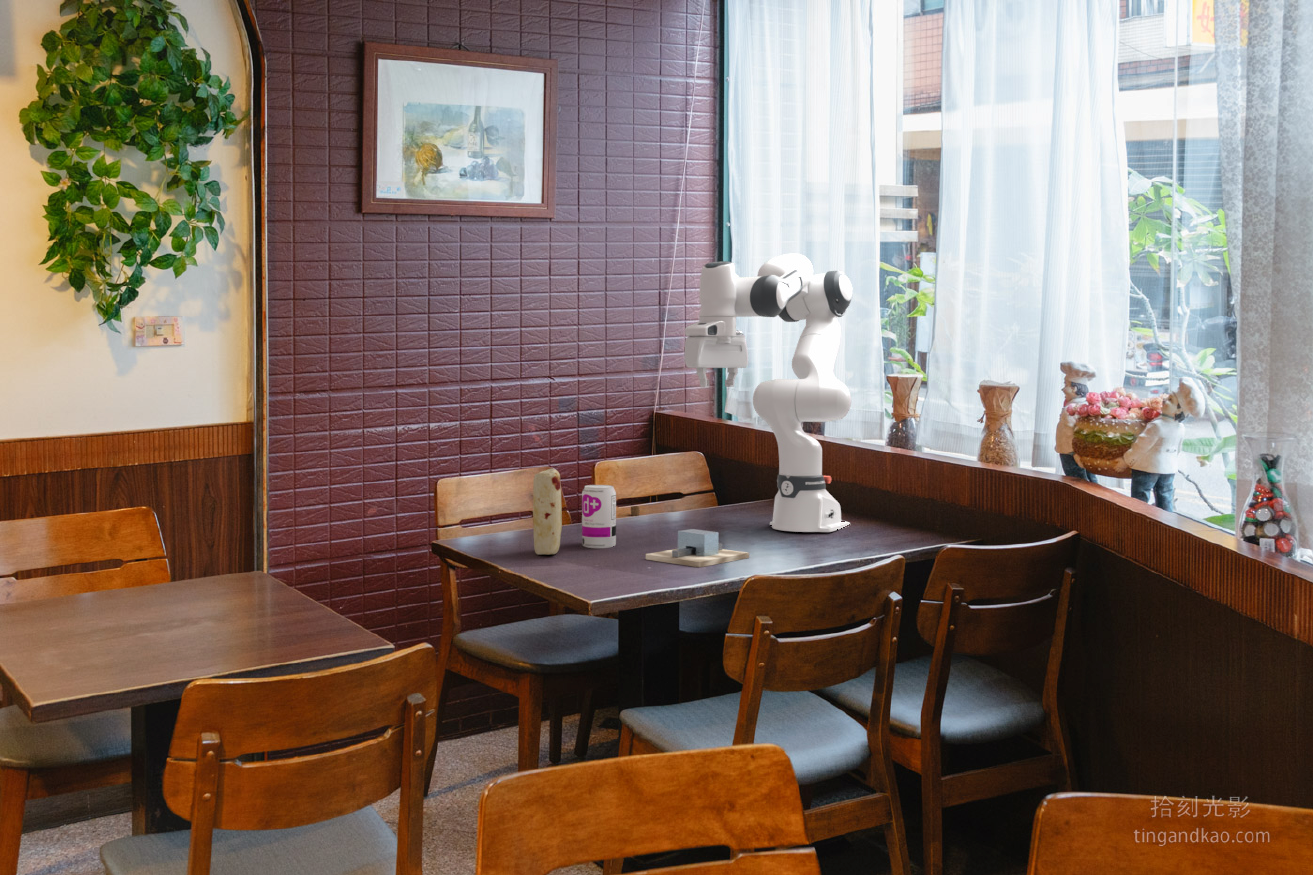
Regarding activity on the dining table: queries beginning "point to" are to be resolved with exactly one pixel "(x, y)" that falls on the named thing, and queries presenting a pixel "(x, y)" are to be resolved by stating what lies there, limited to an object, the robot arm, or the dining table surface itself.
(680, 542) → the saddle block
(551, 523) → the food model
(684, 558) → the rail base
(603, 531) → the supplement can
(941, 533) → the dining table surface
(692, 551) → the guide rail
